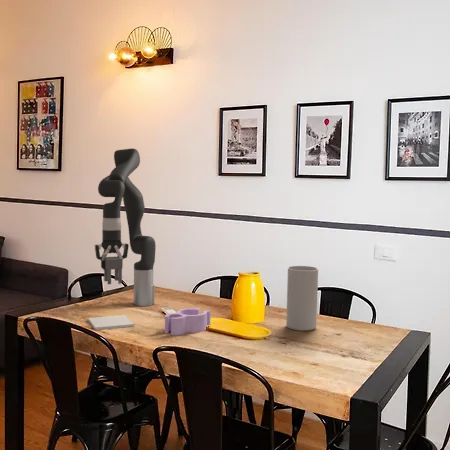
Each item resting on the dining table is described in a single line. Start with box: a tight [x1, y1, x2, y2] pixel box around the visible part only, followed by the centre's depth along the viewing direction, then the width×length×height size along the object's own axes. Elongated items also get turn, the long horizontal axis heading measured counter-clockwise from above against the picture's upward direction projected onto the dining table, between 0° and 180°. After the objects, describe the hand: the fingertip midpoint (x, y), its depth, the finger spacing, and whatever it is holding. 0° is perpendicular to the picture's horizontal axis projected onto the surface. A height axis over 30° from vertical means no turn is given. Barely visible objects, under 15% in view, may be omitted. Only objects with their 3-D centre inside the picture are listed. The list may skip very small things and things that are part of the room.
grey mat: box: [87, 314, 135, 331], centre depth 239 cm, size 16×16×1 cm
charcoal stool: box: [103, 255, 123, 285], centre depth 233 cm, size 6×10×8 cm
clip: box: [164, 307, 211, 336], centre depth 231 cm, size 20×12×7 cm, turn 136°
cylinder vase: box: [285, 265, 319, 332], centre depth 236 cm, size 12×12×25 cm
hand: (111, 268), depth 235 cm, fingers closed on charcoal stool, 6 cm apart
